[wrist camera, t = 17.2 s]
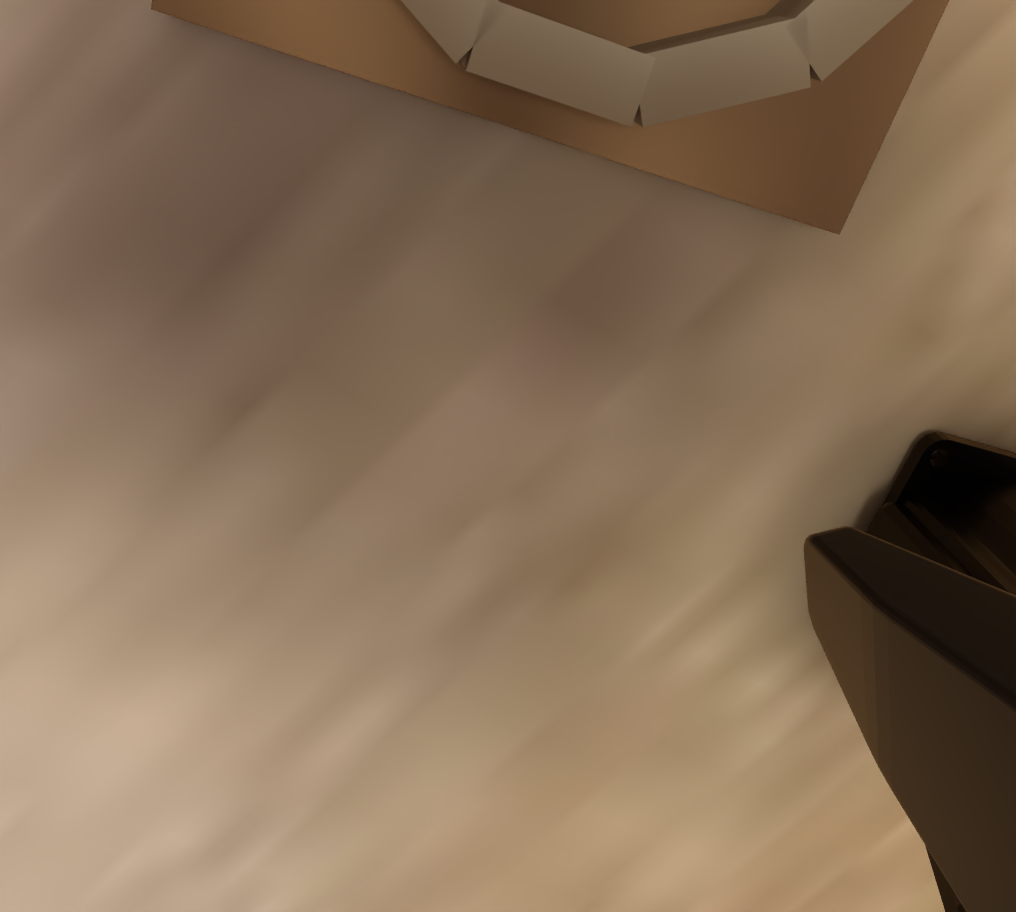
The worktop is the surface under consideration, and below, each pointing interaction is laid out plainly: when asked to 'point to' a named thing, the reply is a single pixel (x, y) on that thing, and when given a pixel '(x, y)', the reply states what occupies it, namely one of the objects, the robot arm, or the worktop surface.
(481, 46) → the collar base
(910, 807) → the robot arm
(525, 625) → the worktop surface
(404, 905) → the worktop surface
